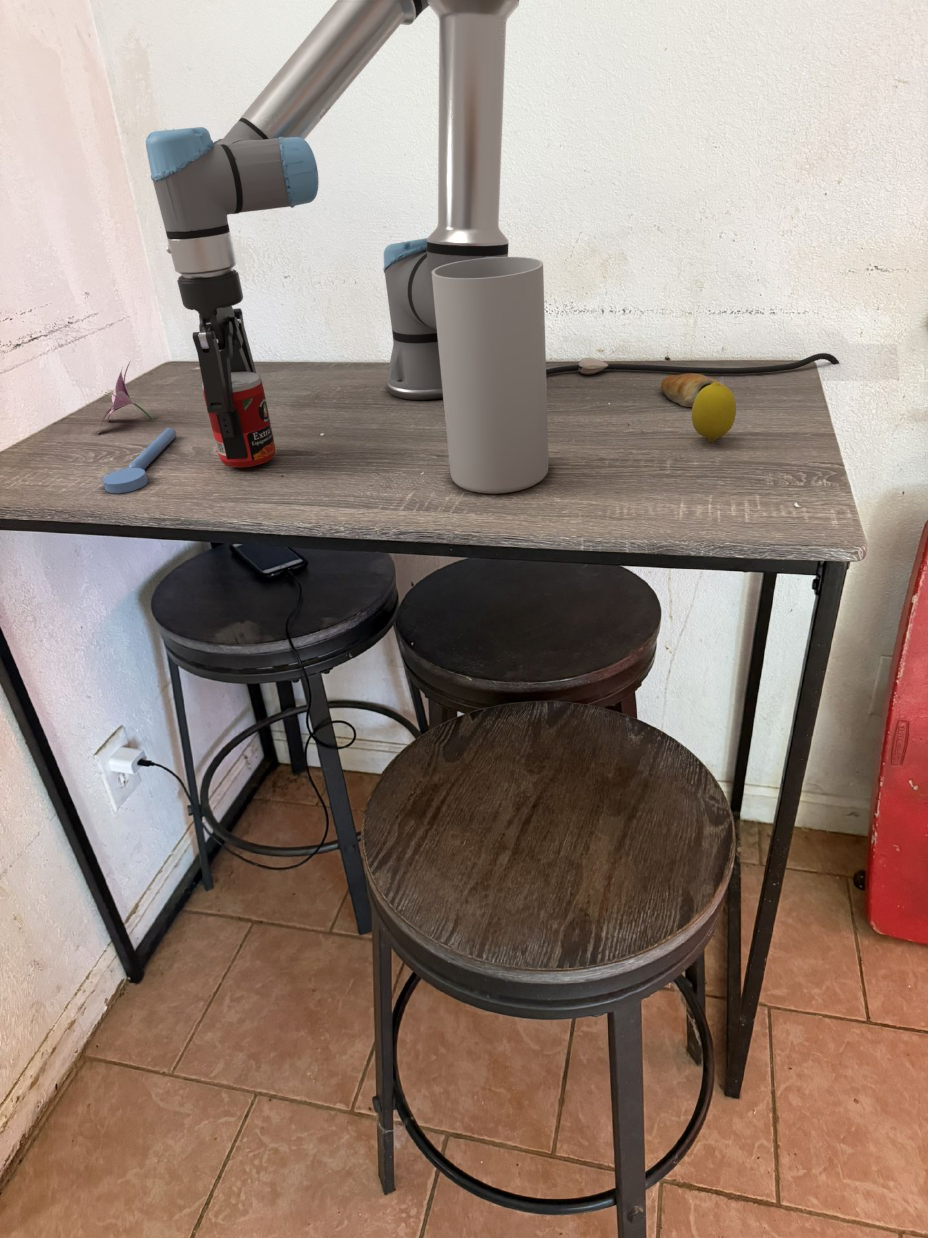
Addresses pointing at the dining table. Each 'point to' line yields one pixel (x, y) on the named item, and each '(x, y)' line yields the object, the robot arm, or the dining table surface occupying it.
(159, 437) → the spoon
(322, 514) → the dining table surface
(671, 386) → the pastry
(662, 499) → the dining table surface
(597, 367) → the seashell
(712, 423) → the lemon
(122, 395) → the lily
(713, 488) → the dining table surface
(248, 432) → the canned food
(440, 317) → the cylinder vase
